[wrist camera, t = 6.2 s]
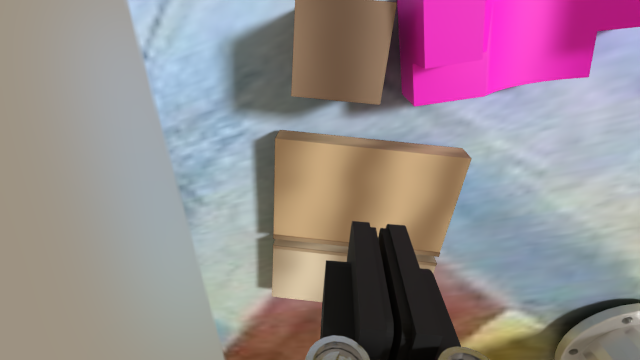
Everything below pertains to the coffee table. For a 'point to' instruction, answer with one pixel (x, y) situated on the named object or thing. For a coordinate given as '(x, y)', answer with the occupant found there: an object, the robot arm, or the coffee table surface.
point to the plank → (364, 188)
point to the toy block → (499, 43)
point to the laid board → (311, 268)
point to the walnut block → (341, 49)
